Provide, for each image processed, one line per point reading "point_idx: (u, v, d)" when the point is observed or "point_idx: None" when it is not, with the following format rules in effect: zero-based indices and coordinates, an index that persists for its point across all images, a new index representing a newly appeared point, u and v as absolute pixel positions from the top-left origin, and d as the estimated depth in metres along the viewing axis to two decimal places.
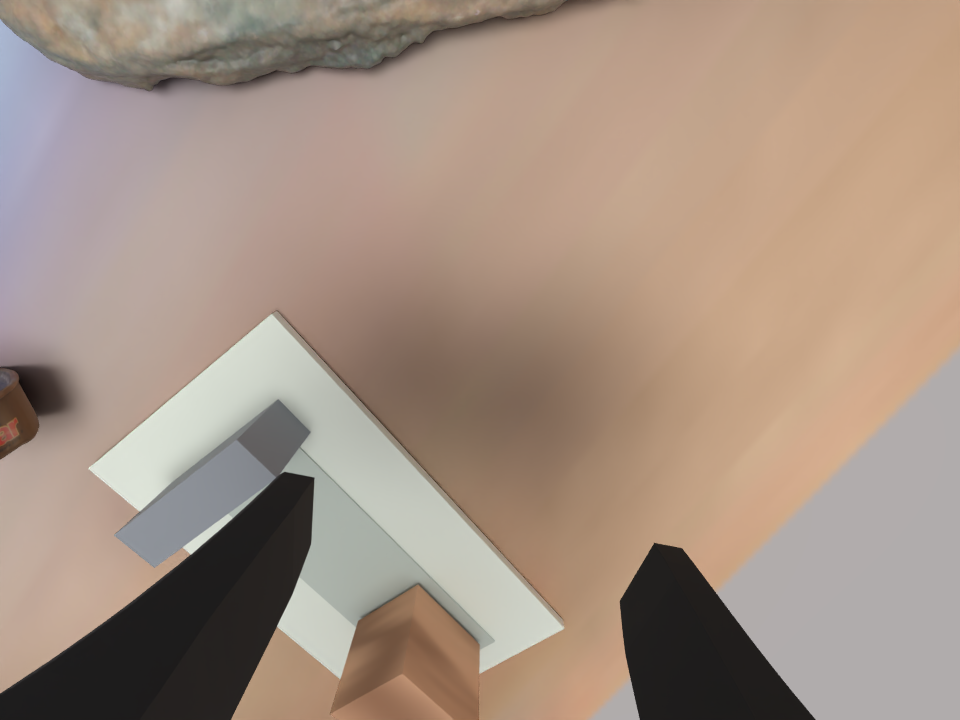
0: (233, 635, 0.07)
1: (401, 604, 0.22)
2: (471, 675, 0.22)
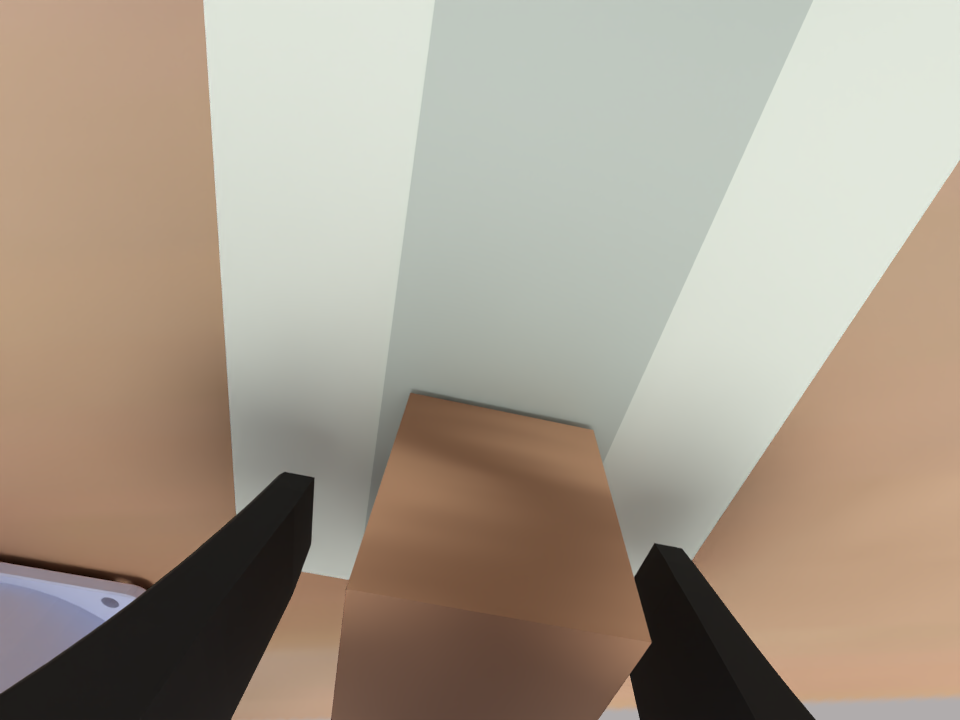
0: (233, 635, 0.07)
1: (556, 442, 0.09)
2: None
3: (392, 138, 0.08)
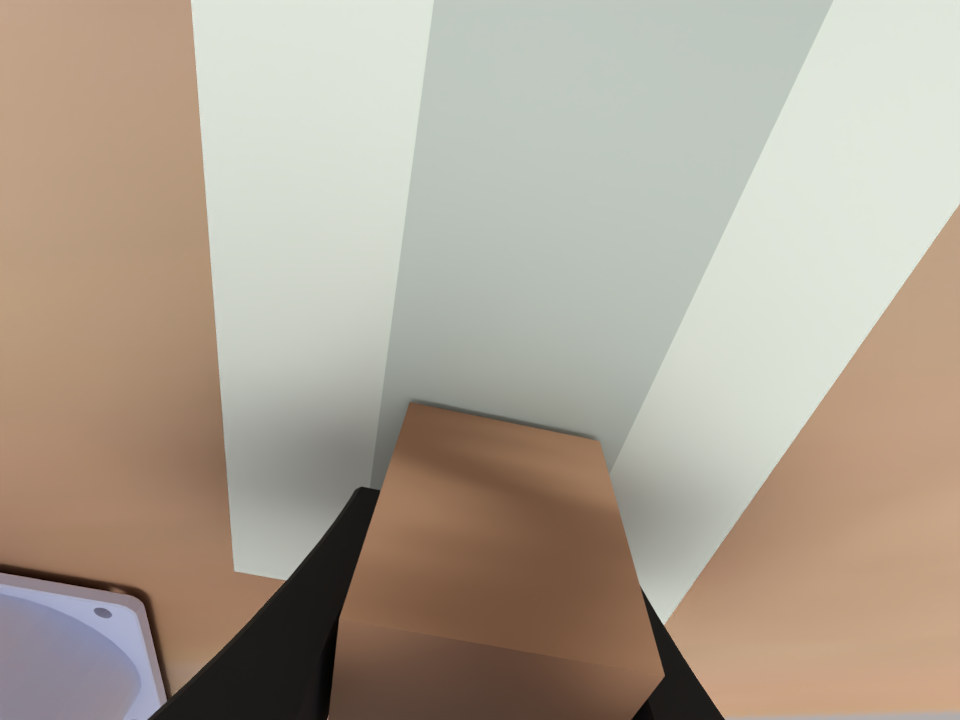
0: None
1: (561, 454, 0.09)
2: None
3: (390, 137, 0.07)
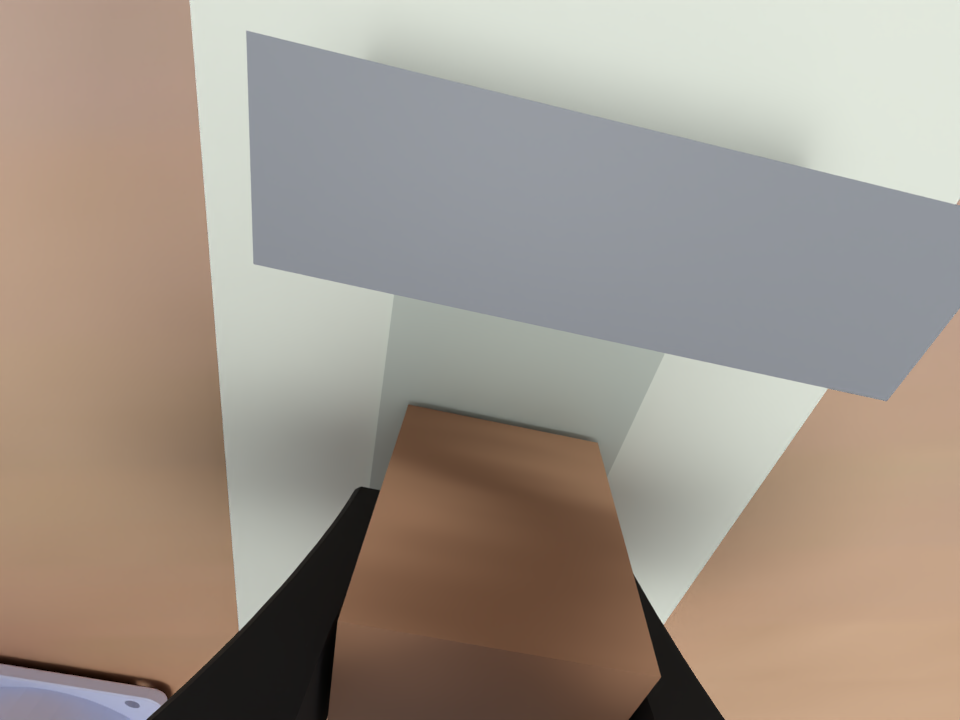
0: None
1: (559, 456, 0.09)
2: None
3: (359, 418, 0.10)
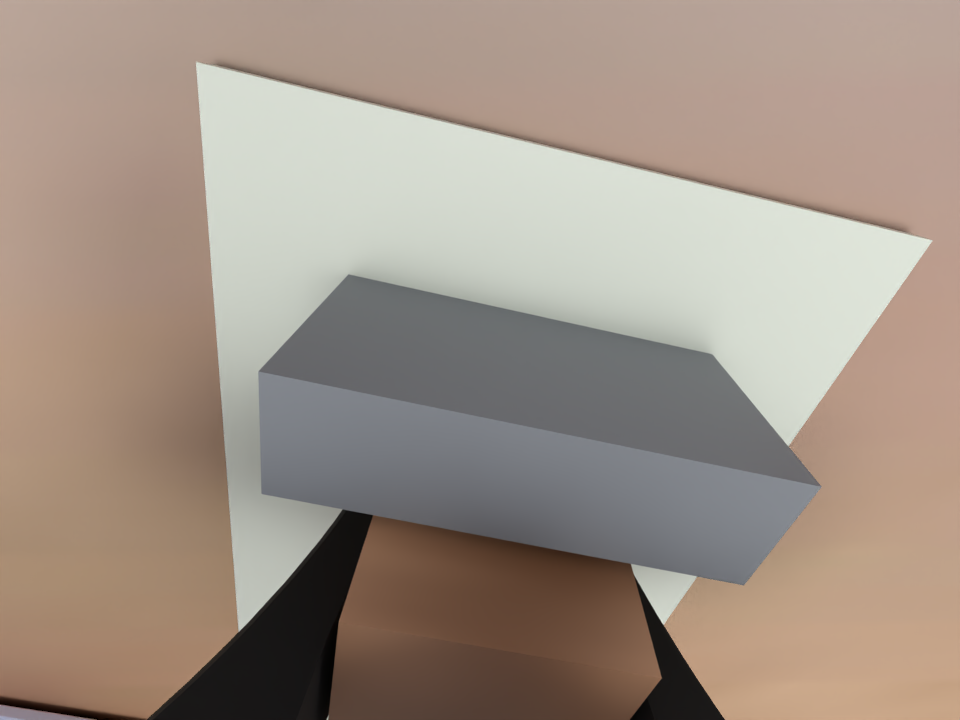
0: (334, 653, 0.07)
1: None
2: None
3: None
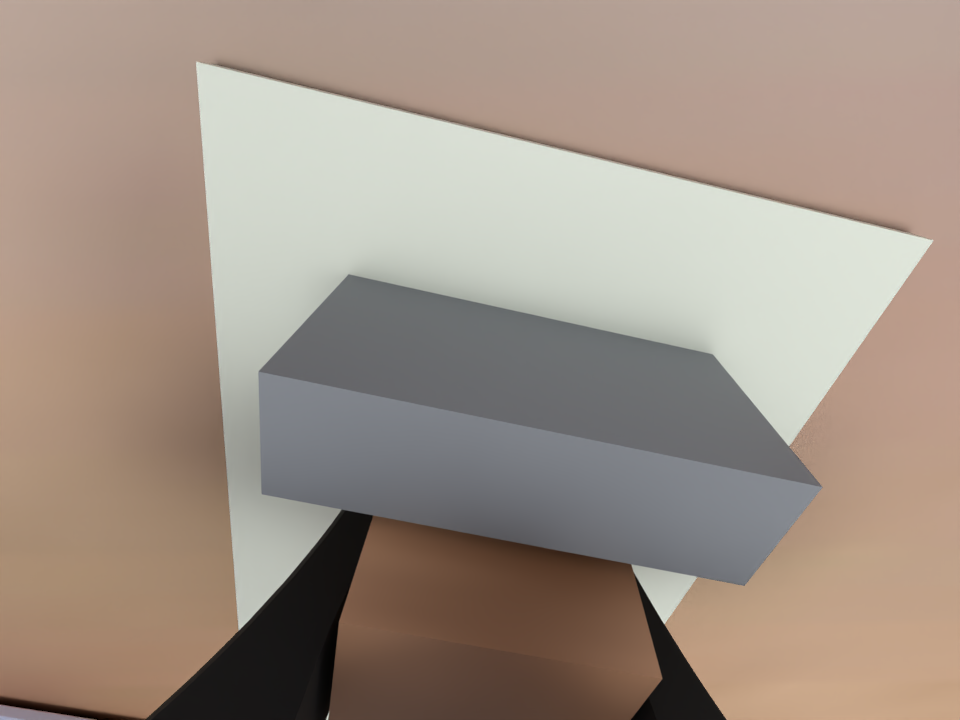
0: (333, 652, 0.07)
1: None
2: None
3: None
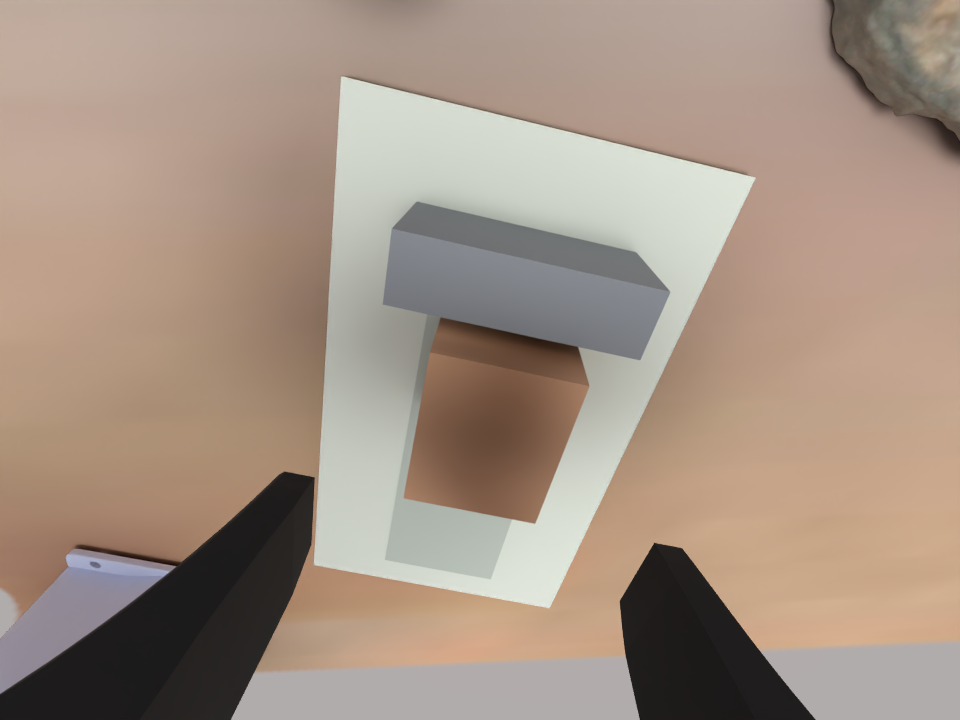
0: (233, 635, 0.07)
1: None
2: None
3: (404, 381, 0.17)
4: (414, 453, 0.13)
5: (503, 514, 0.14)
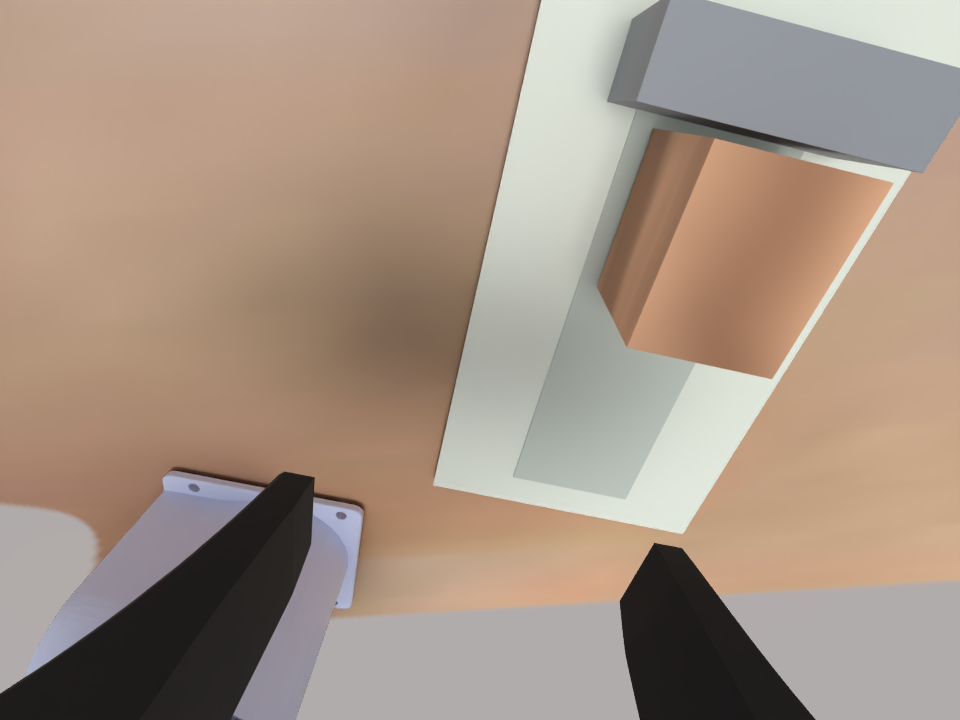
0: (233, 635, 0.07)
1: None
2: None
3: (575, 254, 0.16)
4: (656, 284, 0.11)
5: (738, 367, 0.12)
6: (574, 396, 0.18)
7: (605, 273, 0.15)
